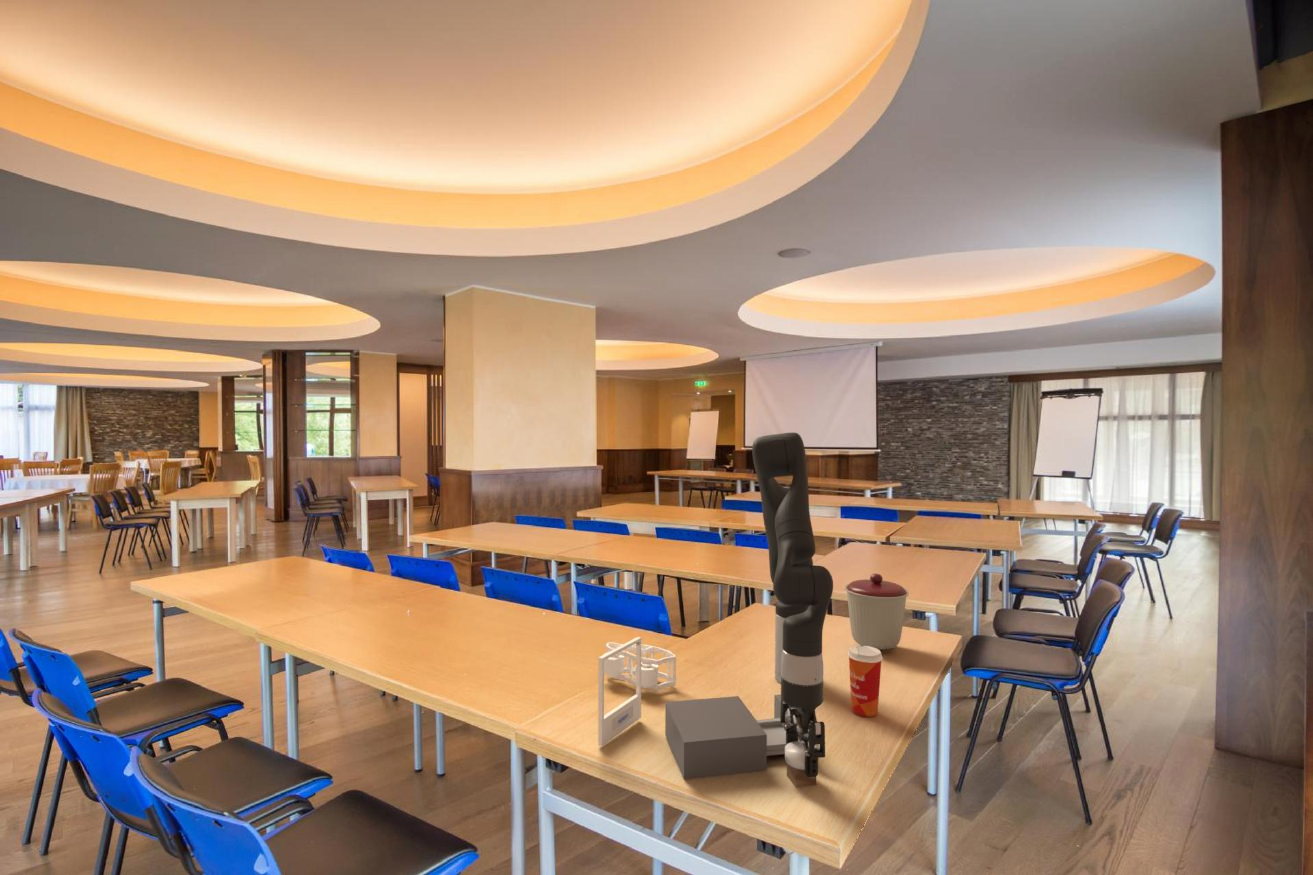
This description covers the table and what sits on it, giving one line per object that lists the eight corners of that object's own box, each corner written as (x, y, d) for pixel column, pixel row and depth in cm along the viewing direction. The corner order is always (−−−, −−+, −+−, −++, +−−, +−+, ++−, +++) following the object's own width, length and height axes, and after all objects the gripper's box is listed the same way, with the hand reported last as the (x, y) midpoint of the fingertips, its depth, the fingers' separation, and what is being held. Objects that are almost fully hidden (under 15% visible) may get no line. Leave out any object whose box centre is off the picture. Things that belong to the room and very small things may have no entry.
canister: (855, 630, 199) (856, 564, 199) (915, 641, 188) (915, 572, 188) (835, 646, 184) (836, 575, 184) (898, 659, 174) (899, 584, 173)
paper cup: (841, 704, 146) (842, 644, 146) (873, 703, 146) (874, 644, 146) (855, 719, 138) (855, 657, 138) (888, 718, 139) (889, 656, 138)
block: (806, 774, 116) (807, 753, 116) (816, 787, 112) (816, 765, 112) (786, 777, 115) (786, 755, 115) (795, 789, 112) (795, 767, 111)
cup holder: (593, 676, 162) (593, 648, 162) (622, 663, 171) (622, 636, 170) (653, 697, 150) (653, 666, 149) (681, 682, 158) (681, 653, 158)
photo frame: (602, 746, 126) (602, 658, 126) (598, 745, 127) (598, 657, 126) (641, 717, 139) (642, 637, 138) (637, 716, 139) (637, 636, 139)
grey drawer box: (738, 728, 134) (738, 695, 134) (766, 771, 117) (766, 734, 117) (665, 734, 131) (665, 701, 131) (683, 780, 114) (684, 742, 114)
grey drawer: (782, 722, 136) (782, 694, 136) (816, 764, 119) (816, 731, 119) (715, 728, 133) (715, 699, 133) (741, 771, 116) (741, 739, 116)
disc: (809, 750, 117) (809, 739, 117) (824, 767, 111) (824, 756, 111) (779, 753, 116) (779, 742, 116) (792, 771, 110) (792, 759, 110)
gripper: (839, 689, 107) (838, 782, 107) (804, 659, 121) (804, 741, 121) (798, 692, 106) (797, 787, 106) (768, 661, 120) (767, 745, 120)
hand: (801, 762), depth 114 cm, fingers open, 8 cm apart
